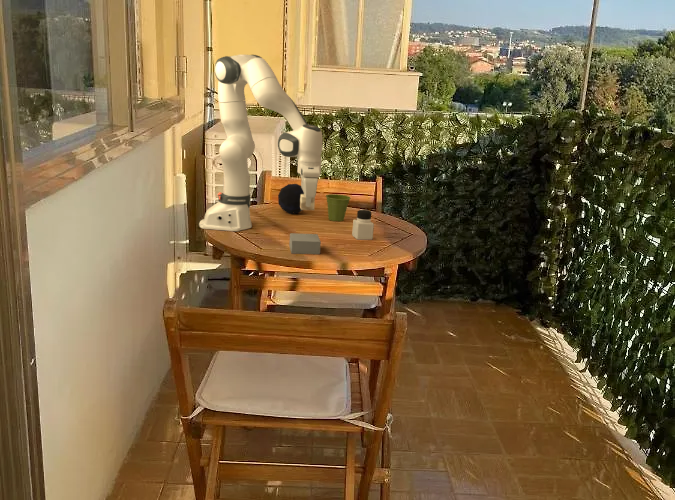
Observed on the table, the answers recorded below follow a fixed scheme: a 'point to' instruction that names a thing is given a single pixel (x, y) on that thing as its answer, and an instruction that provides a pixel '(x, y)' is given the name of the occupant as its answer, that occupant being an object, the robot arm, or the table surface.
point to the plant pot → (337, 206)
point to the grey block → (304, 243)
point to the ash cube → (303, 203)
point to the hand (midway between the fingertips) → (307, 204)
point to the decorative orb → (290, 198)
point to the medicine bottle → (363, 226)
